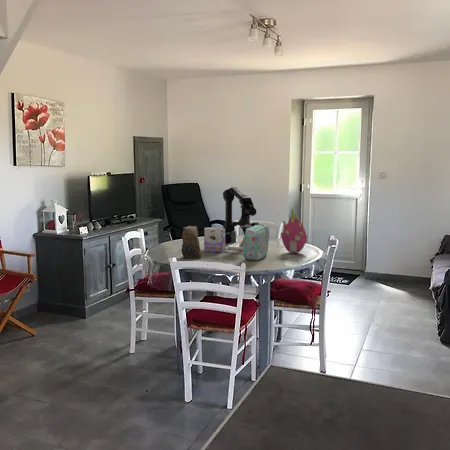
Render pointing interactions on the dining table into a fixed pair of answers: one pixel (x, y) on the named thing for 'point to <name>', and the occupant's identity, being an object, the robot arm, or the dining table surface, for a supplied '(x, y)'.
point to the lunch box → (256, 242)
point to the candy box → (214, 240)
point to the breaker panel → (236, 246)
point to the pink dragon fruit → (294, 234)
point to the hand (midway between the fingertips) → (245, 236)
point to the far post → (233, 237)
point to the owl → (190, 243)
